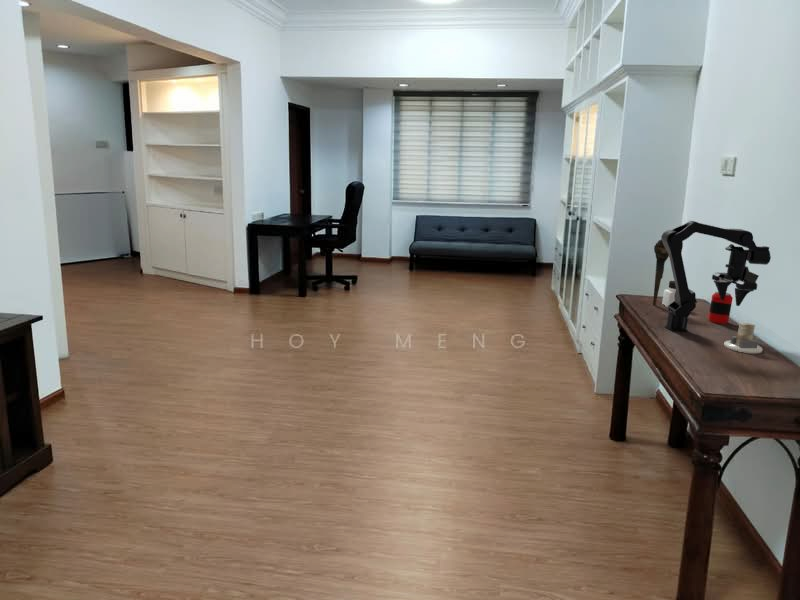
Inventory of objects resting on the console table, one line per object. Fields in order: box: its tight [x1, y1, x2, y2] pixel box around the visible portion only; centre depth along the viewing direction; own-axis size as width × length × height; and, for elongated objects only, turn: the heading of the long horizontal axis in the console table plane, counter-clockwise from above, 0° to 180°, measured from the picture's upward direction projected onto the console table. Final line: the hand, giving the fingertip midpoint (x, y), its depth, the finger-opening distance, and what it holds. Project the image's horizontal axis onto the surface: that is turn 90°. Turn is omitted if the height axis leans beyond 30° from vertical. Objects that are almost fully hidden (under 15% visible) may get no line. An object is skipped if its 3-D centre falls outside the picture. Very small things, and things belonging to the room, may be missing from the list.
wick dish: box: [723, 335, 763, 354], centre depth 215 cm, size 12×12×4 cm
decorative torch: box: [652, 239, 669, 306], centre depth 270 cm, size 7×7×30 cm
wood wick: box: [736, 322, 756, 346], centre depth 214 cm, size 4×2×8 cm, turn 97°
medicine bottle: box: [661, 279, 676, 308], centre depth 272 cm, size 7×7×12 cm
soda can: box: [707, 291, 733, 325], centre depth 249 cm, size 8×8×12 cm
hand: (730, 302), depth 231 cm, fingers open, 9 cm apart
